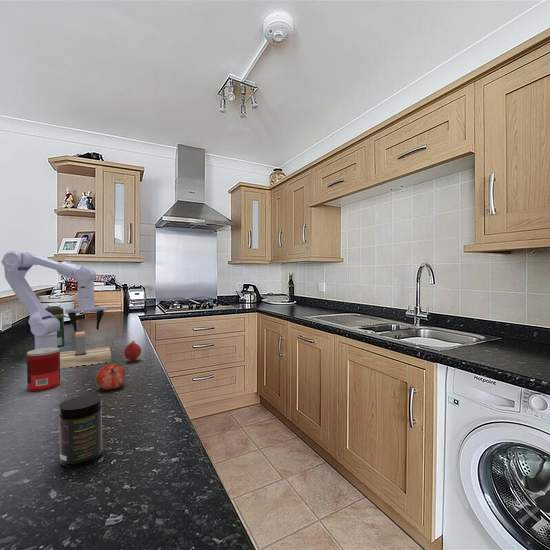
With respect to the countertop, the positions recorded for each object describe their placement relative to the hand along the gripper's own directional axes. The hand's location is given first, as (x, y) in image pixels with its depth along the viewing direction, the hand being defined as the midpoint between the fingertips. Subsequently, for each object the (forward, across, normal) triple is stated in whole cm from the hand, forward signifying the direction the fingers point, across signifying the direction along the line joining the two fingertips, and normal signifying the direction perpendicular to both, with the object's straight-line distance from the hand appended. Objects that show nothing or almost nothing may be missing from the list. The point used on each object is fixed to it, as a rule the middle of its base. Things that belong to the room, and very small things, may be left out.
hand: (86, 330), depth 127 cm
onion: (+11, +15, -20) cm, 27 cm away
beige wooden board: (+10, -2, -9) cm, 14 cm away
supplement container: (+11, -1, -82) cm, 83 cm away
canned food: (+11, -11, -34) cm, 37 cm away
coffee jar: (+10, -13, +28) cm, 33 cm away
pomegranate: (+11, +6, -46) cm, 48 cm away
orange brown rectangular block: (+7, -2, -9) cm, 12 cm away
